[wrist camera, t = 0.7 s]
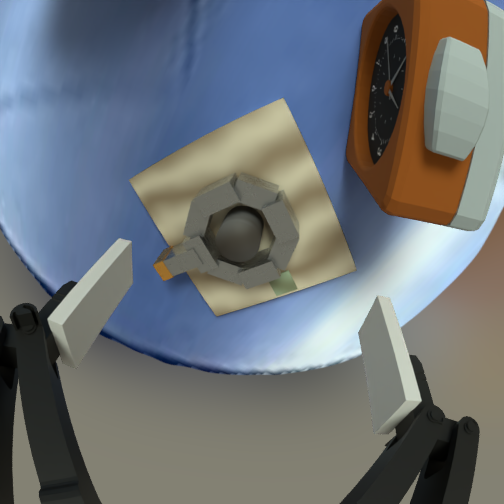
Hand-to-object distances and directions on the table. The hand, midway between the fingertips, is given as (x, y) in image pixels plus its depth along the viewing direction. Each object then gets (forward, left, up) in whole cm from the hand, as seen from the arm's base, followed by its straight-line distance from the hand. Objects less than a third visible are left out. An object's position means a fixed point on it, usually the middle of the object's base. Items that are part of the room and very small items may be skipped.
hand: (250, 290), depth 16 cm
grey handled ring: (+5, -9, -23) cm, 25 cm away
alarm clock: (-3, +17, -25) cm, 30 cm away
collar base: (+5, -6, -25) cm, 26 cm away
